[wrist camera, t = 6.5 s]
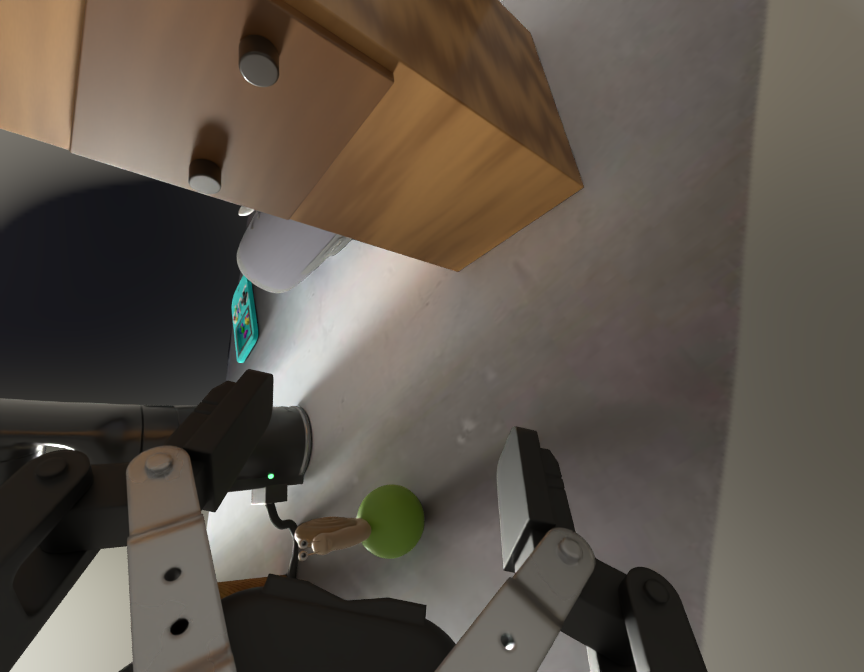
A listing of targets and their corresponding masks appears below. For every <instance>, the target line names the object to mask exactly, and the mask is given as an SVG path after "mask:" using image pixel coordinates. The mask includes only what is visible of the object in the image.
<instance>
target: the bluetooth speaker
mask: <svg viewBox="0 0 864 672" xmlns="http://www.w3.org/2000/svg"><path fill="white" fill-rule="evenodd" d="M350 240H351V238H348V237H345V236H342V235H338V234H335V233H332V232H329V231H326V230H322V229H319V228H316V227H313V226H310V225H307V224H303V223H300V222H297V221H294V220H291V219H289V220H286V219H283V218H279V217H276V216H273V215H270V214H267V213H263V212H260V211H257V212H256V214H255V215H254V217H253V219H252V221H251V223H250V225H249V226H248V228H247V230H246V232H245V234H244V236H243V238H242V240H241V243H240V245H239V248H238V252H237V263H238V266H239V269H240V270H241V272H242V274H243V275H244V276H245V277H246V278H247V279H248V280H249V281H251V282H252V283H253V284H255V285H256V286H258V287H260V288H262V289H264V290H266V291H269V292H273V293H282V292H286V291H289V290H290V289H292V288H293V287H295V286H296V285H298V284H299V283H300V282H302V281H303V280H304V279H305V278H306V277H307V276H308V275H309V274H310V273H311V272H312V271H314V270H315V269H316V268H317V267H318V266H319V265H320V264H321V263H322V262H323V261H324V260H325V259H327V258H328V257H329V256H334V255H335V254H337V253H338V252H339V251H340V250H341V249H343V248H344V247H345V246H346V245H347V244H348V243H349V241H350Z"/></svg>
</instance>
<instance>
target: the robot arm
mask: <svg viewBox="0 0 864 672" xmlns="http://www.w3.org/2000/svg"><path fill="white" fill-rule="evenodd" d="M46 445H50V446H60V447H64V448H67V449H69V450H58V451H53V452H49V453H46V454H45V451H46ZM310 451H311V430H310V424H309V420H308V417H307V415H306V413H305V411H304V410H303V409H302V408H301V407H299V406H290V407H283V406H281V407H273V375H272V374H270V373H265V372H260V371H256V370H251V369H248V370H246V371H245V373H244V374H243V375H242V376H241V377H240V379H239V380H238V381H237V382H236V383H235V382H231V381H226V382H224V383H223V384H221V385H219V386H217V387H215V388H213V389H212V390H211V391H210V392H209V393H208V395H207V396H206V397H205V398H204V399H203V400H202V403H200V404H199V405H198V406H171V405H170V406H169V405H118V404H103V403H68V402H67V403H66V402H48V401H31V400H16V399H0V672H9V671H10V670H11V668H12V667H13V666H14V664H15V663H16V662H17V660H18V659H19V658H20V656H21V655H22V654H23V652H24V651H25V650H26V648H27V647H28V646H29V644H30V643H31V642H32V640H33V639H34V638H35V636H36V635H37V634H38V632H39V631H40V630H41V628H42V627H43V626H44V624H45V623H46V622H47V620H48V619H49V618H50V616H51V615H52V614H53V612H54V611H55V609H56V608H57V607H58V605H59V604H60V603H61V601H62V600H63V599H64V597H65V596H66V595H67V593H68V592H69V591H70V589H71V588H72V587H73V585H74V584H75V583H76V581H77V580H78V579H79V577H80V576H81V574H82V573H83V572H84V571H85V569H86V568H87V567H88V565H89V564H90V563H91V561H92V560H93V559H94V557H95V556H96V554H97V553H98V552H99V551H100V549H104V548H114V547H123V546H127V554H128V573H129V593H130V613H131V632H132V652H133V662H131V663H130V664H129V665H127V666H126V667H124V668H123V669H122V670H120V671H119V672H537V670H538V669H539V667H540V665H541V663H542V662H543V660H544V658H545V656H546V655H547V653H548V651H549V650H550V648H551V646H552V644H553V643H554V641H555V639H556V637H557V636H558V634H559V632H560V631H561V632H563V633H565V634H567V635H568V636H570V637H572V638H574V639H575V640H577V641H579V642H581V643H582V644H584V645H586V648H587V654H588V660H589V666H590V672H707V669H706V666H705V663H704V661H703V658H702V655H701V653H700V650H699V647H698V645H697V642H696V639H695V637H694V634H693V631H692V628H691V626H690V623H689V620H688V618H687V615H686V612H685V610H684V607H683V604H682V601H681V599H680V597H679V595H678V593H677V592H676V590H675V589H674V587H673V586H672V585H671V584H670V583H669V582H668V581H667V580H666V579H665V578H664V577H663V576H661V575H660V574H658V573H657V572H655V571H653V570H651V569H648V568H645V567H635V568H633V569H631V570H630V571H629V572H628V574H625V573H623V572H621V571H619V570H617V569H615V568H613V567H611V566H609V565H607V564H605V563H603V562H602V561H600V560H598V559H597V558H595V556H594V553H593V551H592V549H591V547H590V546H589V544H588V543H587V542H586V541H585V540H584V539H583V538H582V537H581V536H580V535H578V534H577V533H576V532H575V528H574V524H573V520H572V516H571V512H570V508H569V504H568V500H567V496H566V492H565V490H564V483H563V479H561V477H562V475H561V471H560V467H559V463H558V462H557V460H556V459H555V457H554V456H553V454H552V453H551V451H550V450H548V449H544V448H540V443H539V438H538V434H537V432H536V431H534V430H530V429H525V428H521V427H516V426H514V427H513V428H512V429H511V431H510V434H509V436H508V439H507V441H506V444H505V446H504V449H503V451H502V454H501V456H500V459H499V462H498V467H497V488H498V502H499V516H500V530H501V544H502V557H503V570H504V571H509V572H514V573H515V575H514V576H513V577H512V578H511V577H509V578H508V579H507V580H506V582H505V583H504V584H503V585H502V587H501V588H500V589H499V590H498V592H497V593H496V594H495V596H494V597H493V598H492V599H491V601H490V602H489V603H488V604H487V606H486V607H485V608H484V609H483V611H482V612H481V613H480V615H479V616H478V617H477V618H476V620H475V621H474V622H473V623H472V625H471V626H470V627H469V629H468V630H467V631H466V632H465V634H464V635H463V636H462V637H461V639H460V640H459V641H458V642H457V644H455V642H454V641H453V640H452V639H451V638H450V637H449V636H448V634H446V633H445V632H444V631H443V630H442V629H441V628H440V627H438V626H437V625H435V624H434V623H433V622H431V621H429V620H427V619H425V617H426V605H423V604H418V603H413V602H408V601H403V600H398V599H393V598H374V599H361V600H344V599H341V598H339V597H337V596H335V595H334V594H332V593H330V592H328V591H326V590H324V589H322V588H320V587H318V586H316V585H314V584H312V583H310V582H308V581H304V580H299V579H295V578H296V572H297V562H298V543H297V541H296V540H295V536H294V535H295V531H296V529H297V527H298V526H297V525H296V523H295V522H294V521H293V520H283V521H282V520H281V519H280V518H279V516H278V514H277V511H276V507H275V504H274V503H277V502H284V501H287V485H296V484H302V483H303V477H304V473H305V471H306V468H307V465H308V462H309V458H310ZM243 490H252V505H254V504H266V505H265V506H266V508H267V511H268V515H269V518H270V520H271V522H272V524H273V525H274V526H275V527H276V528H278V529H287V528H288V529H289V530H290V532H291V534H292V538H293V552H292V558H291V562H290V567H289V571H288V575H287V577H284V576H279V575H274V574H269V575H268V577H267V580H266V582H265V584H264V586H262V587H254V588H249V589H245V590H242V591H239V592H236V593H233V594H231V595H229V596H227V597H224V598H223V599H220V594H219V589H218V584H217V579H216V575H215V570H214V565H213V560H212V555H211V550H210V545H209V540H208V535H207V531H206V526H205V521H204V517H203V514H201V510H206V511H211V512H216V510H217V509H218V507H219V506H220V504H221V502H222V501H223V499H224V497H225V496H226V494H227V493H228V492H234V491H243Z"/></svg>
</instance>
